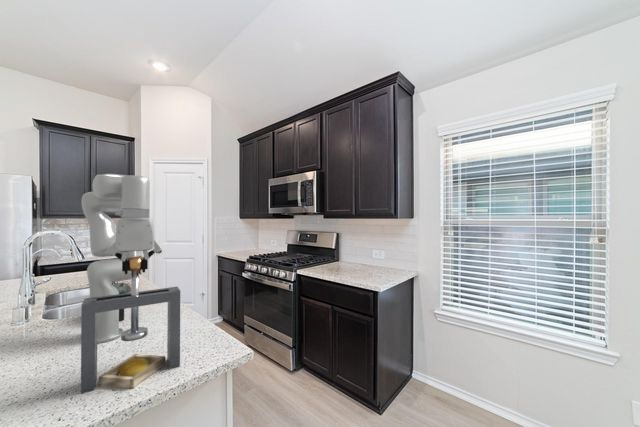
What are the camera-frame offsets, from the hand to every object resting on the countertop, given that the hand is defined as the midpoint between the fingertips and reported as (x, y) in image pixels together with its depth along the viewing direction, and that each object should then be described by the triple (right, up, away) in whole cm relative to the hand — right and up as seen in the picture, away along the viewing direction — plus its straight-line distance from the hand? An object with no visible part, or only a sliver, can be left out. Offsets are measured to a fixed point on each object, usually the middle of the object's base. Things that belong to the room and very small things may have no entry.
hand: (135, 272), depth 87 cm
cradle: (0, -32, 0) cm, 32 cm away
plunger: (0, -20, 0) cm, 20 cm away
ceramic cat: (-42, -33, +48) cm, 71 cm away
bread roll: (0, -33, 0) cm, 33 cm away
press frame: (0, -32, 0) cm, 32 cm away
